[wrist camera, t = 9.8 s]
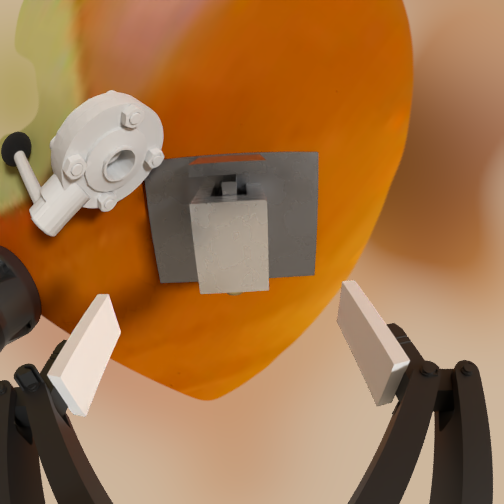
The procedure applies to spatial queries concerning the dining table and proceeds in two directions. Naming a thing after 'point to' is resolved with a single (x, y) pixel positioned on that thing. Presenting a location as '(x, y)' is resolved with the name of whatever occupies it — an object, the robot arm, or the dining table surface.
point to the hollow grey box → (231, 240)
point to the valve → (90, 158)
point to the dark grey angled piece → (227, 184)
